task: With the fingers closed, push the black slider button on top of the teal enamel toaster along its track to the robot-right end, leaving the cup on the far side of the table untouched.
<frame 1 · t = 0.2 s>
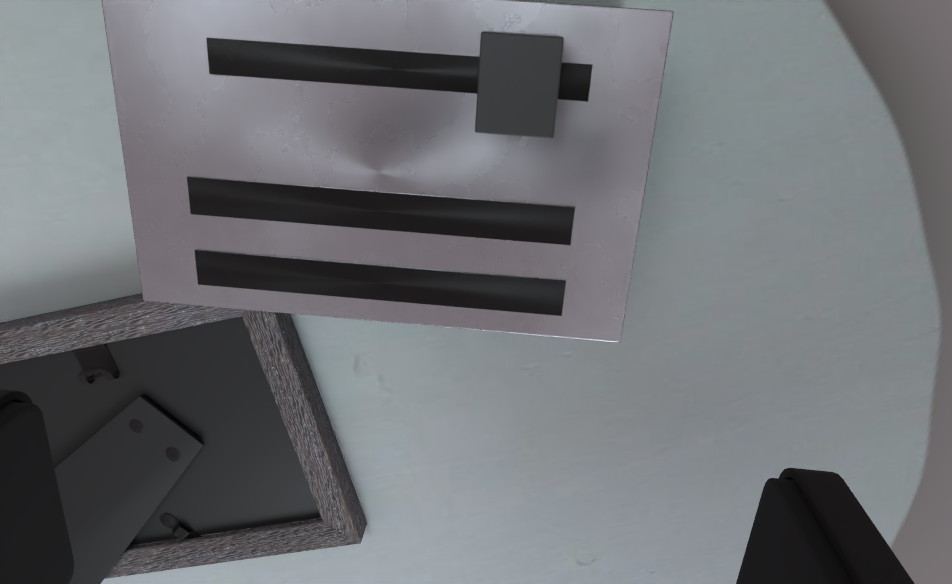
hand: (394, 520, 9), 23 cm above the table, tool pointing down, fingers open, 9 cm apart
toaster: (425, 125, 29), on the table
picture frame: (148, 433, 37), on the table
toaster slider: (518, 82, 17), point 11 cm above the table, slide at 0.0 cm
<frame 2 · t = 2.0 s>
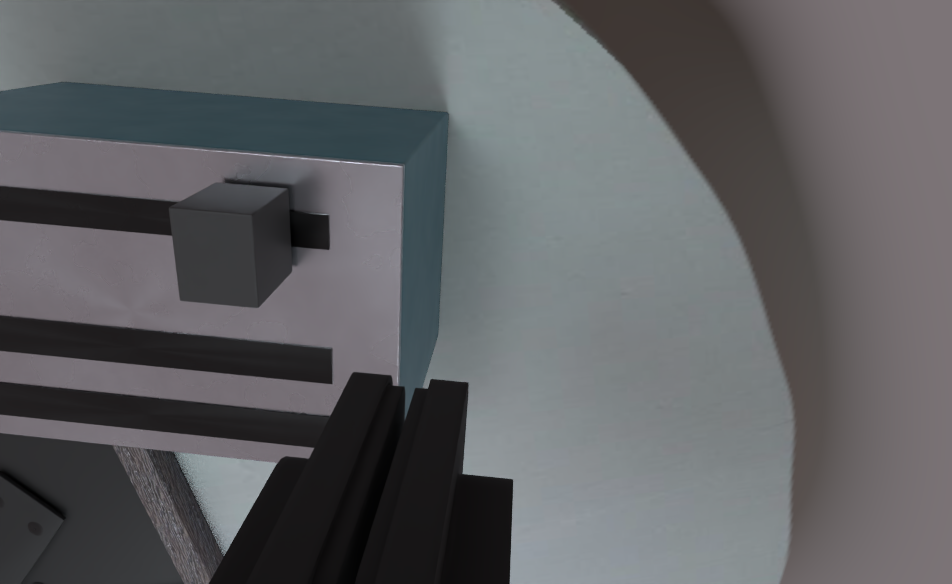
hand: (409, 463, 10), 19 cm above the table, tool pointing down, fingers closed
toaster: (260, 215, 29), on the table
picture frame: (17, 503, 37), on the table
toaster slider: (236, 242, 17), point 11 cm above the table, slide at 0.0 cm
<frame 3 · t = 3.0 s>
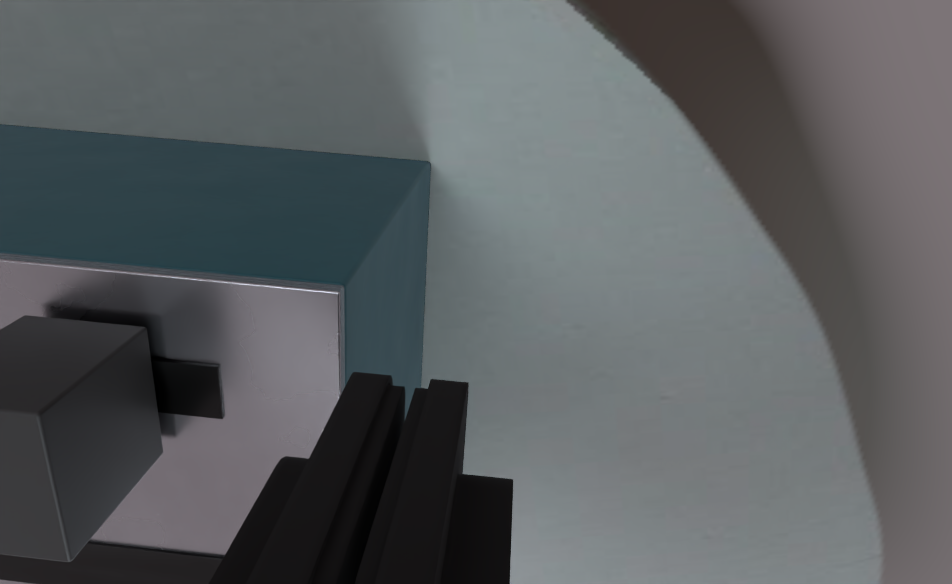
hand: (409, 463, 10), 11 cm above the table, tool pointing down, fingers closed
toaster: (181, 292, 22), on the table
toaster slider: (45, 429, 10), point 11 cm above the table, slide at 0.0 cm
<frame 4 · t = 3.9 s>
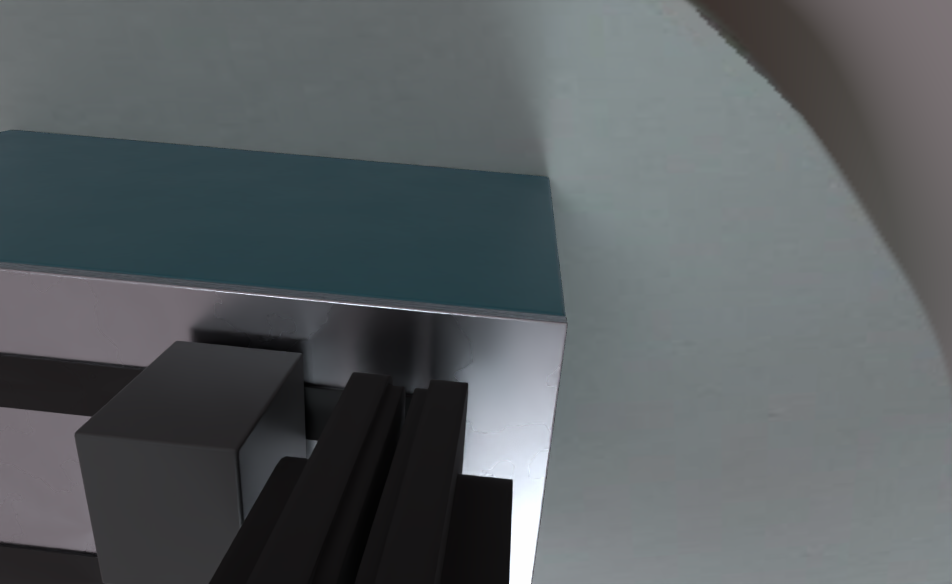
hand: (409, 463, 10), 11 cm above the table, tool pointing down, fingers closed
toaster: (282, 308, 21), on the table
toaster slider: (209, 460, 9), point 11 cm above the table, slide at 0.9 cm, touching gripper
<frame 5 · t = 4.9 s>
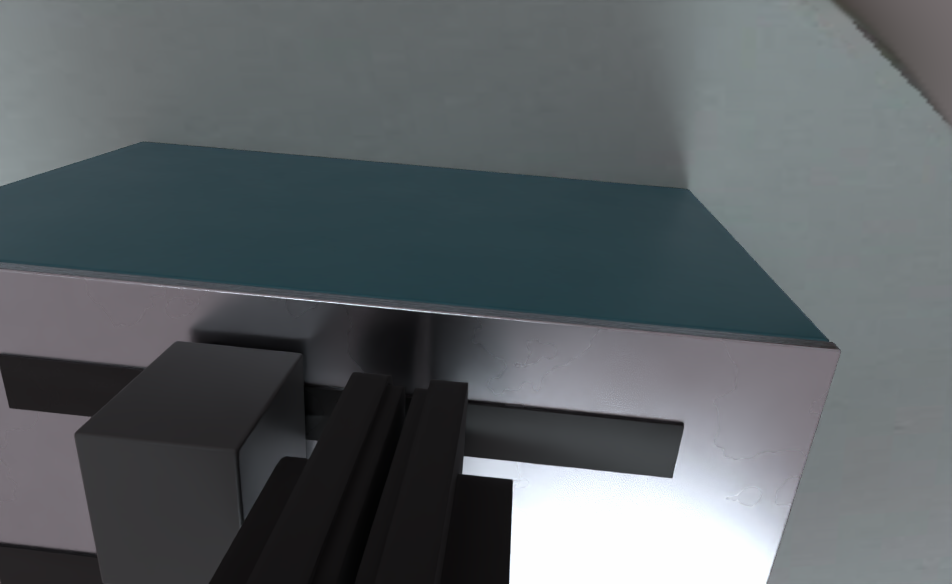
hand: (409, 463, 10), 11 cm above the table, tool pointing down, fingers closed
toaster: (405, 320, 21), on the table
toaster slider: (209, 460, 9), point 11 cm above the table, slide at 4.9 cm, touching gripper
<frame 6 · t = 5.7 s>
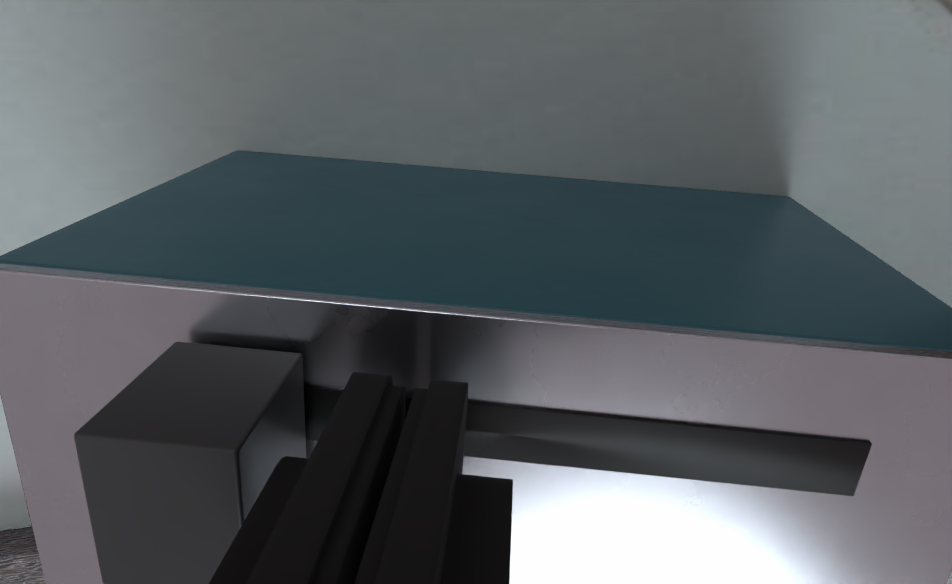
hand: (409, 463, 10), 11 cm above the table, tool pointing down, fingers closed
toaster: (494, 329, 21), on the table
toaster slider: (209, 461, 9), point 11 cm above the table, slide at 7.7 cm, touching gripper
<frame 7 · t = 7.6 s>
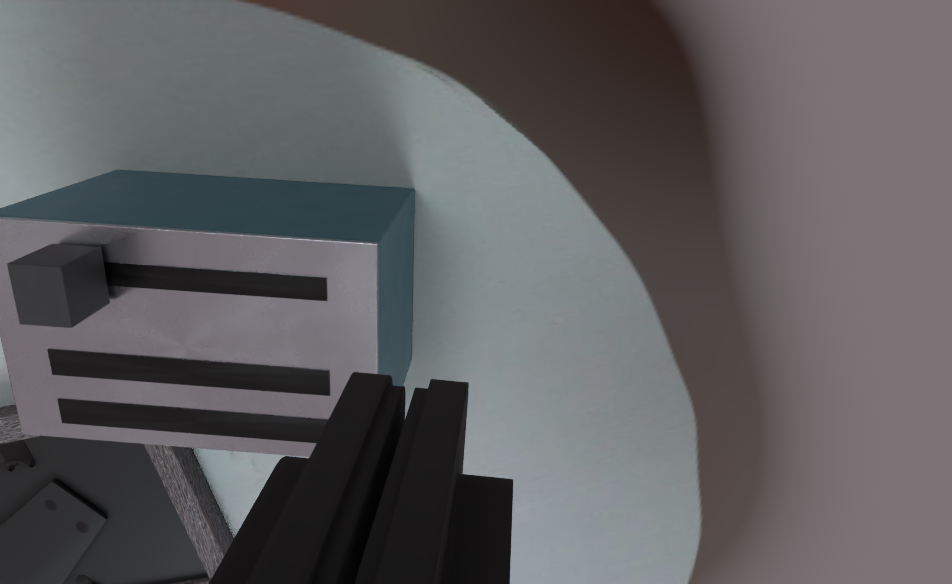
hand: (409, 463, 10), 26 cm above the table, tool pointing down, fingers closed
toaster: (270, 268, 37), on the table
picture frame: (65, 508, 44), on the table
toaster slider: (61, 284, 25), point 11 cm above the table, slide at 7.8 cm
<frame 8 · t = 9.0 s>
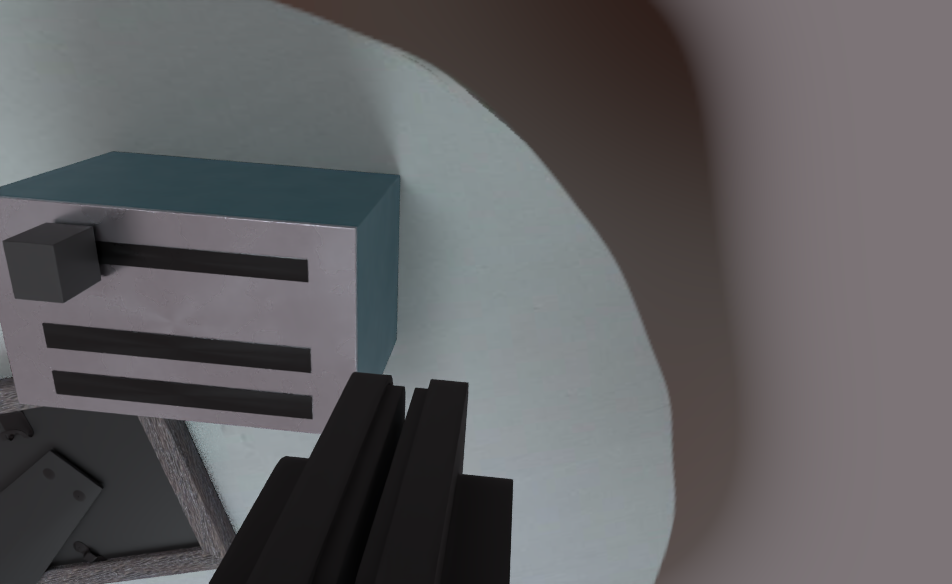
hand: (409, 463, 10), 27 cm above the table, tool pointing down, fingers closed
toaster: (260, 249, 38), on the table
picture frame: (62, 477, 46), on the table
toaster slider: (54, 261, 26), point 11 cm above the table, slide at 7.8 cm
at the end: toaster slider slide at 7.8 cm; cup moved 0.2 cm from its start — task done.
